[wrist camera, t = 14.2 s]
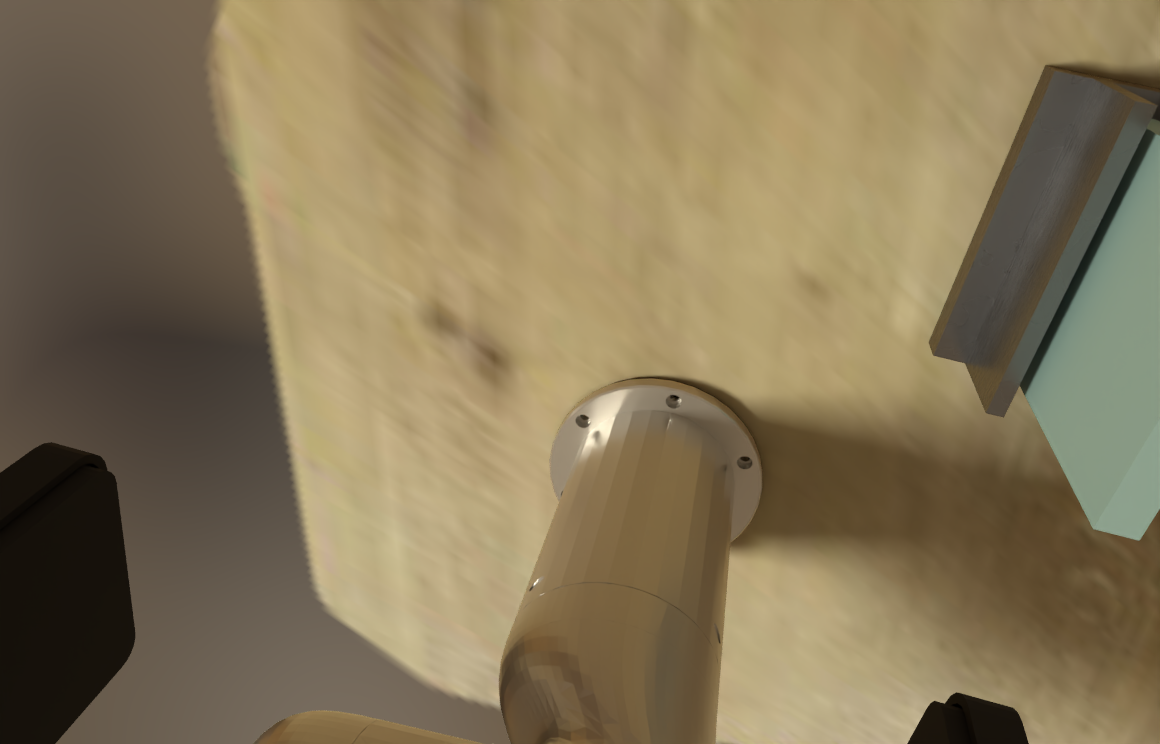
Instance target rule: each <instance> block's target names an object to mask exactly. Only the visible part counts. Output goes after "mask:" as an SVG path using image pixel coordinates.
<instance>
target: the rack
mask: <svg viewBox="0 0 1160 744" xmlns="http://www.w3.org/2000/svg"><path fill="white" fill-rule="evenodd" d="M1151 119H1155V120H1158V121H1160V89H1157V88H1152V87H1148V86H1143V85H1138V84H1133V83H1128V82H1123V81H1118V80H1114V79H1109V78H1104V77H1099V76H1094V75H1089V74H1084V73H1080V72H1075V71H1070V70H1065V69H1060V68H1055V67H1050V66H1046V65H1045V68H1044V70H1043V73H1042V75H1041V77H1040V80H1039V82H1038V84H1037V87H1036V89H1035V92H1034V94H1033V96H1032V99H1031V101H1030V103H1029V106H1028V108H1027V111H1026V113H1025V115H1024V118H1023V120H1022V122H1021V125H1020V127H1019V130H1018V132H1017V134H1016V137H1015V139H1014V141H1013V144H1012V146H1011V149H1010V151H1009V153H1008V156H1007V158H1006V160H1005V163H1004V165H1003V168H1002V170H1001V172H1000V175H999V177H998V179H997V182H996V184H995V187H994V189H993V191H992V194H991V196H990V198H989V201H988V203H987V206H986V208H985V210H984V213H983V215H982V217H981V220H980V222H979V225H978V227H977V229H976V232H975V234H974V236H973V239H972V241H971V244H970V246H969V248H968V251H967V253H966V255H965V258H964V260H963V263H962V265H961V267H960V270H959V272H958V274H957V277H956V279H955V282H954V284H953V286H952V289H951V291H950V293H949V296H948V298H947V301H946V303H945V305H944V308H943V310H942V312H941V315H940V317H939V320H938V322H937V324H936V327H935V329H934V331H933V334H932V336H931V339H930V341H929V345H930V348H931V350H932V353H933V356H937V357H942V358H946V359H950V360H954V361H958V362H962V363H965V364H966V366H967V369H968V371H969V374H970V376H971V378H972V381H973V383H974V386H975V388H976V391H977V393H978V395H979V398H980V400H981V403H982V405H983V407H984V410H985V412H986V413H988V414H992V415H996V416H1000V417H1004V416H1005V414H1006V412H1007V410H1008V408H1009V406H1010V404H1011V402H1012V400H1013V398H1014V396H1015V394H1016V391H1017V389H1018V387H1019V385H1020V383H1021V381H1022V379H1023V377H1024V375H1025V373H1026V371H1027V369H1028V367H1029V365H1030V363H1031V361H1032V359H1033V357H1034V355H1035V353H1036V351H1037V349H1038V347H1039V345H1040V343H1041V341H1042V339H1043V337H1044V335H1045V333H1046V331H1047V329H1048V327H1049V325H1050V323H1051V321H1052V319H1053V317H1054V315H1055V313H1056V311H1057V309H1058V307H1059V305H1060V303H1061V300H1062V298H1063V296H1064V294H1065V292H1066V290H1067V288H1068V286H1069V284H1070V282H1071V280H1072V278H1073V276H1074V274H1075V272H1076V270H1077V268H1078V266H1079V264H1080V262H1081V260H1082V258H1083V256H1084V254H1085V252H1086V250H1087V248H1088V246H1089V244H1090V242H1091V240H1092V238H1093V236H1094V234H1095V232H1096V230H1097V228H1098V226H1099V224H1100V222H1101V220H1102V218H1103V216H1104V214H1105V212H1106V210H1107V207H1108V205H1109V203H1110V201H1111V199H1112V197H1113V195H1114V193H1115V191H1116V189H1117V187H1118V185H1119V183H1120V181H1121V179H1122V177H1123V175H1124V173H1125V171H1126V169H1127V167H1128V165H1129V163H1130V161H1131V159H1132V157H1133V155H1134V153H1135V151H1136V149H1137V147H1138V145H1139V143H1140V141H1141V139H1142V137H1143V135H1144V133H1145V131H1146V129H1147V127H1148V125H1149V123H1150V121H1151Z"/></svg>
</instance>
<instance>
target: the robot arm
mask: <svg viewBox="0 0 1160 744" xmlns="http://www.w3.org/2000/svg"><path fill="white" fill-rule="evenodd" d="M672 395H676V396H678V397H673V396H672ZM584 415H586V416H587V417H585V416H584ZM743 456H747V457H743ZM550 477H551V481H552V485H553V489H554V492H555V495H556V497H557V499H558V501H559V504H558V506H557V509H556V512H555V514H554V517H553V520H552V522H551V525H550V528H549V530H548V533H547V536H546V538H545V541H544V544H543V546H542V549H541V552H540V554H539V557H538V560H537V562H536V565H535V568H534V570H533V573H532V576H531V578H530V581H529V584H528V586H527V589H526V592H525V594H524V597H523V600H522V602H521V605H520V608H519V610H518V613H517V616H516V618H515V621H514V624H513V626H512V628H511V631H510V634H509V637H508V639H507V642H506V645H505V648H504V652H503V656H502V659H501V664H500V674H499V696H500V706H501V711H502V716H503V720H504V724H505V727H506V731H507V734H508V738H509V740H510V743H511V744H715V743H716V723H717V709H718V695H719V682H720V669H721V656H722V643H723V631H724V618H725V605H726V592H727V579H728V566H729V554H730V543H731V542H732V541H733V540H735V539H736V538H737V537H738V536H740V535H741V533H742V532H743V531H744V530H745V528H746V527H747V526H748V525H749V523H750V522H751V520H752V518H753V516H754V514H755V512H756V510H757V508H758V506H759V501H760V496H761V492H762V466H761V459H760V454H759V452H758V449H757V446H756V444H755V441H754V439H753V437H752V436H751V434H750V432H749V431H748V429H747V428H746V426H745V425H744V423H743V422H742V421H741V420H740V419H739V418H738V417H737V416H736V415H735V414H734V412H733V411H732V410H731V409H730V408H728V407H727V406H726V405H724V404H723V403H721V402H720V401H719V400H717V399H716V398H715V397H713V396H711V395H709V394H707V393H705V392H703V391H701V390H699V389H697V388H695V387H692V386H689V385H685V384H682V383H679V382H675V381H670V380H662V379H653V378H649V379H631V380H626V381H622V382H617V383H613V384H610V385H608V386H605V387H603V388H601V389H599V390H596V391H594V392H593V393H591V394H590V395H588V396H587V397H585V398H584V399H582V400H581V401H580V402H578V404H577V405H576V406H575V407H574V408H573V409H572V410H571V411H570V412H569V413H568V414H567V416H566V417H565V419H564V421H563V422H562V424H561V426H560V428H559V429H558V432H557V435H556V437H555V440H554V442H553V445H552V450H551V456H550ZM134 642H135V627H134V619H133V611H132V603H131V595H130V587H129V579H128V571H127V563H126V555H125V547H124V539H123V531H122V523H121V515H120V507H119V499H118V491H117V483H116V479H115V476H114V475H113V474H112V473H111V472H108V471H107V467H106V464H105V461H104V460H103V459H102V458H101V457H100V456H98V455H95V454H92V453H88V452H85V451H81V450H77V449H74V448H70V447H66V446H62V445H59V444H56V443H52V442H51V443H44V444H42V445H40V446H38V447H36V448H35V449H33V450H32V451H30V452H29V453H27V454H26V455H25V456H23V457H22V458H20V459H19V460H18V461H16V462H15V463H13V464H12V465H11V466H9V467H8V468H6V469H5V470H4V471H2V472H1V473H0V744H55V743H56V742H57V741H58V740H59V739H60V738H61V736H62V735H63V734H64V733H65V732H66V731H67V730H68V728H69V727H70V726H71V725H72V724H73V723H74V721H75V720H76V719H77V718H78V717H79V716H80V715H81V713H82V712H83V711H84V710H85V709H86V708H87V707H88V705H89V704H90V703H91V702H92V701H93V700H94V699H95V697H96V696H97V695H98V694H99V693H100V691H102V689H103V688H104V687H105V686H106V685H107V684H108V683H109V681H110V680H111V679H112V678H113V677H114V676H115V674H116V673H117V672H118V671H119V670H120V669H121V668H122V666H123V665H124V663H125V662H126V661H127V659H128V657H129V656H130V654H131V651H132V649H133V646H134ZM253 744H483V743H479V742H475V741H470V740H466V739H461V738H457V737H453V736H449V735H445V734H440V733H436V732H431V731H427V730H423V729H419V728H415V727H410V726H406V725H401V724H397V723H393V722H388V721H385V720H380V719H375V718H371V717H366V716H362V715H357V714H351V713H345V712H338V711H324V710H320V711H308V712H303V713H299V714H294V715H292V716H289V717H287V718H285V719H283V720H281V721H279V722H277V723H276V724H274V725H273V726H272V727H270V728H269V729H268V730H266V731H265V732H264V733H263V734H261V735H260V737H259V738H258V739H257V740H256V741H255V742H254V743H253ZM908 744H1029V743H1028V740H1027V736H1026V733H1025V730H1024V726H1023V723H1022V721H1021V718H1020V716H1019V714H1018V712H1017V711H1016V710H1015V709H1014V708H1012V707H1008V706H1004V705H1001V704H997V703H993V702H990V701H986V700H983V699H979V698H975V697H972V696H968V695H965V694H961V693H955V694H953V695H951V696H950V698H949V699H948V700H947V702H946V703H945V704H944V703H940V702H936V701H934V702H932V703H930V705H929V706H928V708H927V709H926V711H925V713H924V715H923V716H922V718H921V720H920V722H919V724H918V726H917V727H916V729H915V731H914V733H913V735H912V736H911V738H910V740H909V742H908Z"/></svg>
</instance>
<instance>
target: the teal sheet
mask: <svg viewBox="0 0 1160 744" xmlns="http://www.w3.org/2000/svg"><path fill="white" fill-rule="evenodd" d="M1020 387H1021V389H1022V391H1023V393H1024V395H1025V397H1026V399H1027V401H1028V403H1029V405H1030V406H1031V408H1032V410H1033V412H1034V414H1035V416H1036V418H1037V420H1038V422H1039V424H1040V426H1041V428H1042V430H1043V432H1044V434H1045V436H1046V438H1047V440H1048V442H1049V444H1050V446H1051V448H1052V450H1053V452H1054V454H1055V455H1056V457H1057V459H1058V461H1059V463H1060V465H1061V467H1062V469H1063V471H1064V473H1065V475H1066V477H1067V479H1068V481H1069V483H1070V485H1071V487H1072V489H1073V491H1074V493H1075V495H1076V497H1077V499H1078V501H1079V502H1080V504H1081V506H1082V508H1083V510H1084V512H1085V514H1086V516H1087V518H1088V520H1089V522H1090V524H1091V526H1092V528H1093V529H1095V530H1099V531H1103V532H1107V533H1111V534H1115V535H1118V536H1122V537H1126V538H1130V539H1134V540H1138V541H1140V539H1141V537H1142V536H1143V534H1144V533H1145V531H1146V530H1147V528H1148V526H1149V525H1150V523H1151V522H1152V520H1153V519H1154V517H1155V516H1156V514H1157V512H1158V511H1159V509H1160V121H1158V120H1155V119H1151V121H1150V123H1149V125H1148V127H1147V129H1146V131H1145V133H1144V135H1143V137H1142V139H1141V141H1140V143H1139V145H1138V147H1137V149H1136V151H1135V153H1134V155H1133V157H1132V159H1131V161H1130V163H1129V165H1128V167H1127V169H1126V171H1125V173H1124V175H1123V177H1122V179H1121V181H1120V183H1119V185H1118V187H1117V189H1116V191H1115V193H1114V195H1113V197H1112V199H1111V201H1110V203H1109V205H1108V207H1107V210H1106V212H1105V214H1104V216H1103V218H1102V220H1101V222H1100V224H1099V226H1098V228H1097V230H1096V232H1095V234H1094V236H1093V238H1092V240H1091V242H1090V244H1089V246H1088V248H1087V250H1086V252H1085V254H1084V256H1083V258H1082V260H1081V262H1080V264H1079V266H1078V268H1077V270H1076V272H1075V274H1074V276H1073V278H1072V280H1071V282H1070V284H1069V286H1068V288H1067V290H1066V292H1065V294H1064V296H1063V298H1062V300H1061V303H1060V305H1059V307H1058V309H1057V311H1056V313H1055V315H1054V317H1053V319H1052V321H1051V323H1050V325H1049V327H1048V329H1047V331H1046V333H1045V335H1044V337H1043V339H1042V341H1041V343H1040V345H1039V347H1038V349H1037V351H1036V353H1035V355H1034V357H1033V359H1032V361H1031V363H1030V365H1029V367H1028V369H1027V371H1026V373H1025V375H1024V377H1023V379H1022V381H1021V383H1020Z"/></svg>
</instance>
